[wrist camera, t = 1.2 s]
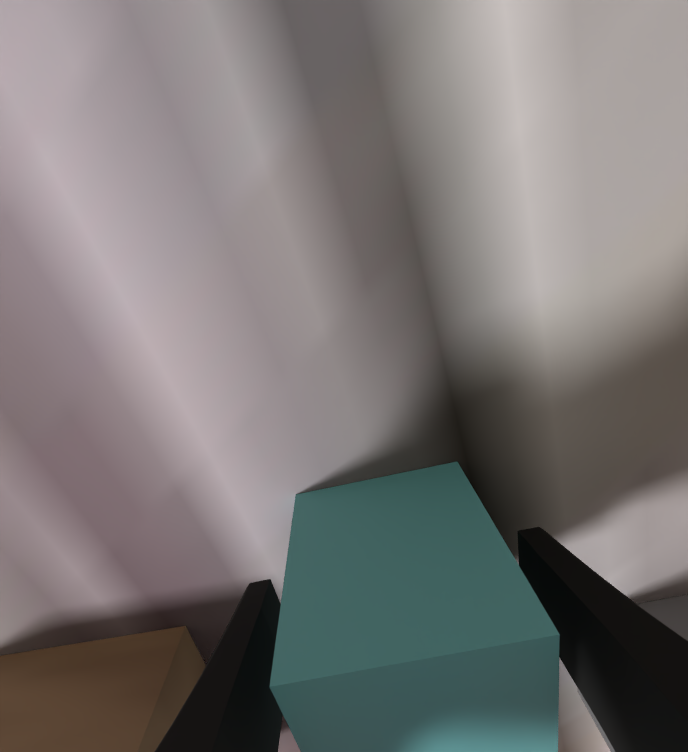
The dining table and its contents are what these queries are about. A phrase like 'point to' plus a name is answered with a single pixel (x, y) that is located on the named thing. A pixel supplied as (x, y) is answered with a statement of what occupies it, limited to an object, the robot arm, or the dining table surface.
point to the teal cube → (411, 624)
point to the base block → (97, 693)
